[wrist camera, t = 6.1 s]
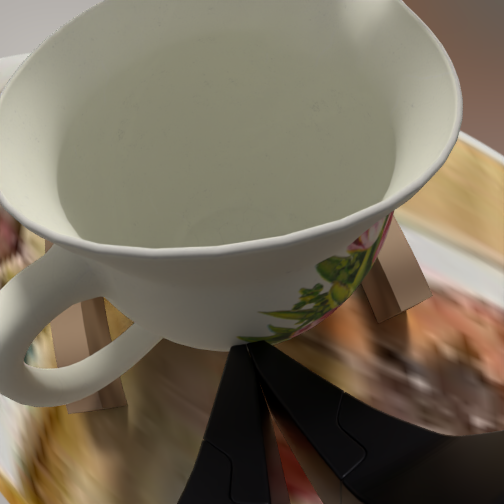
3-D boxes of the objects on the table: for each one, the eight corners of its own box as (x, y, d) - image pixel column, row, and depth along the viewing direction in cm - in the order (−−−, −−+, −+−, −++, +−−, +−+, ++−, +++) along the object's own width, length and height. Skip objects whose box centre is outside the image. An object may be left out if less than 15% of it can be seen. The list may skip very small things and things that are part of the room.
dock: (406, 310, 16) (443, 289, 12) (96, 410, 14) (56, 414, 10) (294, 102, 22) (299, 61, 19) (69, 168, 20) (45, 134, 16)
